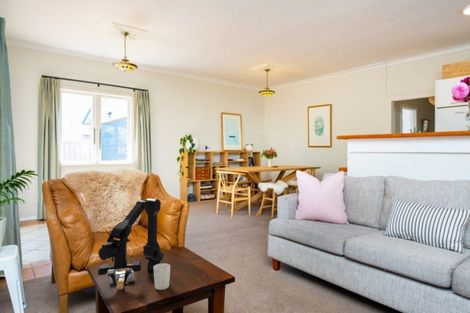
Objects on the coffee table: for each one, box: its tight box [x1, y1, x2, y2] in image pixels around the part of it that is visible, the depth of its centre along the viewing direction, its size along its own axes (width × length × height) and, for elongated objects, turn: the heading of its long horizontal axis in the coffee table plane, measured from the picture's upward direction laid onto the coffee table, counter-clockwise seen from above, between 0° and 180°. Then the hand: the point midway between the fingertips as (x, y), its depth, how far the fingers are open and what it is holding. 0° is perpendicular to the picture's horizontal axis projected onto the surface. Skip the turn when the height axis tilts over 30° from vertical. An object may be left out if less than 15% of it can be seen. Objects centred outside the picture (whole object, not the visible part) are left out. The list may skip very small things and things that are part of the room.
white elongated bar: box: [115, 274, 125, 291], centre depth 149 cm, size 16×3×3 cm, turn 16°
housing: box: [109, 270, 135, 285], centre depth 154 cm, size 11×6×5 cm, turn 106°
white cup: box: [153, 262, 171, 291], centre depth 146 cm, size 8×8×10 cm
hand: (120, 285), depth 143 cm, fingers closed on white elongated bar, 3 cm apart
